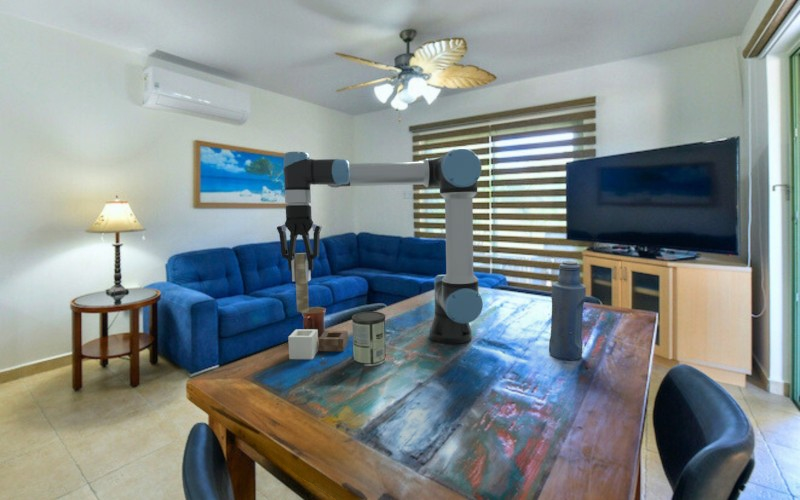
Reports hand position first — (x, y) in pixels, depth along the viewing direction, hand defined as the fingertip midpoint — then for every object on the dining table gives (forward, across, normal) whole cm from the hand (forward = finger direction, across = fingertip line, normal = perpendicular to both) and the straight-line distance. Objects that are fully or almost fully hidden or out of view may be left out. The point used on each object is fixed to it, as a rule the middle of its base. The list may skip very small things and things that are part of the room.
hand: (301, 280), depth 117 cm
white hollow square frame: (+25, 0, 0) cm, 25 cm away
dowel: (+10, 0, 0) cm, 10 cm away
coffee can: (+25, -21, +1) cm, 33 cm away
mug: (+25, +2, -17) cm, 30 cm away
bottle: (+25, -83, -4) cm, 87 cm away
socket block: (+25, -8, -7) cm, 27 cm away
